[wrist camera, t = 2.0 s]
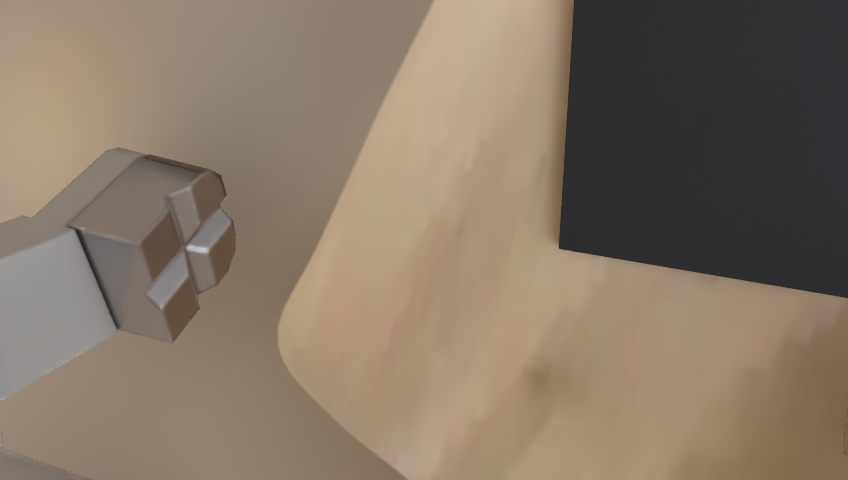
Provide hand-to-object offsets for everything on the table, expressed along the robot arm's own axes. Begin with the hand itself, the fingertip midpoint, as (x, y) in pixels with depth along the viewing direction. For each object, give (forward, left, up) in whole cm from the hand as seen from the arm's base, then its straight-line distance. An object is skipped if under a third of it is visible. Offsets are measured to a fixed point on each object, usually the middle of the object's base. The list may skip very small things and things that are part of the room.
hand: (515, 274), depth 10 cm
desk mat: (+3, +1, -35) cm, 35 cm away
